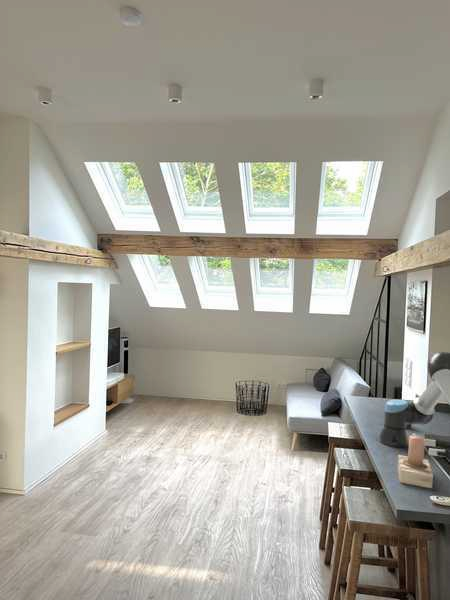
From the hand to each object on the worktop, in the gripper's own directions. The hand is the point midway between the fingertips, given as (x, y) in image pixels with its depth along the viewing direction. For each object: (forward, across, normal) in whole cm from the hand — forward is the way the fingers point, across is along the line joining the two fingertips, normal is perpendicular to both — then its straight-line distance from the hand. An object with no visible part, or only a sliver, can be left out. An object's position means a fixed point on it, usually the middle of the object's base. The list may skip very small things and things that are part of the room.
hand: (424, 446), depth 209 cm
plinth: (+3, 0, -14) cm, 15 cm away
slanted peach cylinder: (+3, 0, -8) cm, 9 cm away
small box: (-11, +86, -14) cm, 88 cm away
